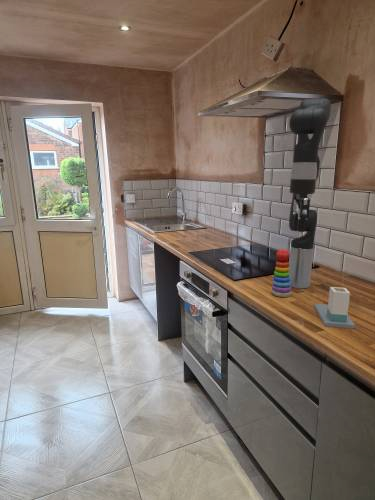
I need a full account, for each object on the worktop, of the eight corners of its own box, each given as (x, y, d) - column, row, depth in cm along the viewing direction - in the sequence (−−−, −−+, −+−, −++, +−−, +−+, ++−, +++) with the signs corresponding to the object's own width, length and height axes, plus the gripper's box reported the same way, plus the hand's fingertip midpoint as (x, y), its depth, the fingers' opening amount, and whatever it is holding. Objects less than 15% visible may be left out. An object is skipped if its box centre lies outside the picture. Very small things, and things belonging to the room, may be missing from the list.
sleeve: (326, 314, 109) (330, 286, 107) (341, 316, 108) (345, 287, 106) (330, 321, 105) (334, 292, 102) (346, 322, 104) (350, 292, 102)
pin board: (313, 306, 119) (315, 290, 118) (339, 308, 118) (341, 292, 116) (324, 326, 104) (326, 308, 102) (354, 328, 102) (357, 310, 101)
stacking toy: (287, 290, 135) (290, 247, 131) (294, 297, 127) (298, 251, 123) (268, 290, 135) (271, 247, 131) (274, 298, 127) (277, 251, 123)
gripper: (321, 178, 93) (316, 233, 97) (311, 177, 107) (306, 226, 110) (294, 178, 94) (290, 232, 98) (287, 177, 108) (284, 225, 111)
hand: (298, 229), depth 104 cm, fingers open, 8 cm apart
